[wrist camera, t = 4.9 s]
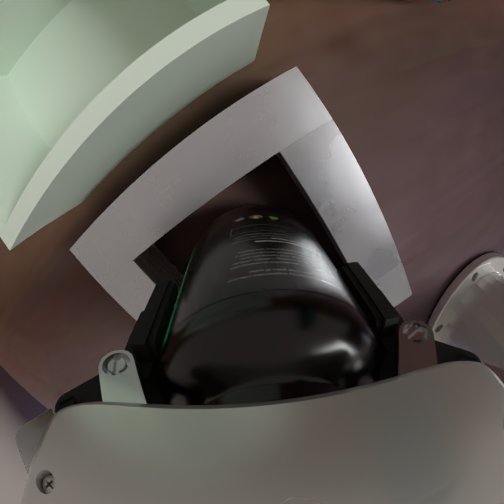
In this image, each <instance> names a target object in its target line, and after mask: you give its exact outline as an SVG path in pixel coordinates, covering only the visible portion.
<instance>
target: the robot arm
mask: <svg viewBox="0 0 504 504" xmlns="http://www.w3.org/2000/svg"><path fill="white" fill-rule="evenodd" d="M340 275H341V277H342V278H343V280H344V281H345V283H346V285H347V286H348V288H349V289H350V291H351V293H352V294H353V296H354V297H355V299H356V301H357V302H358V304H359V305H360V307H361V309H362V310H363V312H364V314H365V315H366V317H367V319H368V321H369V322H370V324H371V327H372V328H373V330H374V332H375V334H376V336H377V339H378V341H379V344H380V348H381V355H382V364H381V373H380V378H379V381H378V382H374V383H370V384H366V385H362V386H358V387H353V388H349V389H344V390H339V391H334V392H329V393H324V394H318V395H312V396H306V397H299V398H292V399H285V400H276V401H267V402H256V403H243V404H225V405H165V403H164V401H163V399H162V396H161V393H160V390H159V386H158V377H157V373H158V364H159V359H160V354H161V350H162V346H163V343H164V339H165V336H166V332H167V329H168V326H169V322H170V319H171V316H172V313H173V309H174V306H175V303H176V300H177V297H178V294H179V292H178V289H177V285H176V283H172V281H171V280H163V281H158V282H157V283H156V286H155V288H154V290H153V292H152V294H151V296H150V299H149V301H148V303H147V305H146V307H145V310H144V311H142V312H141V313H140V315H139V317H138V320H137V322H136V324H135V326H134V329H133V331H132V333H131V336H130V338H129V340H128V343H127V345H126V348H125V350H116V351H112V352H110V353H108V354H107V355H105V356H104V357H103V358H102V359H101V361H100V363H99V368H98V370H99V375H97V376H95V377H94V378H92V379H90V380H88V381H87V382H85V383H83V384H81V385H79V386H78V387H76V388H74V389H72V390H71V391H69V392H67V393H65V394H64V395H62V396H61V397H60V398H59V399H58V401H57V403H56V405H55V410H54V411H53V410H52V409H49V410H48V411H46V412H44V413H43V414H41V415H40V416H38V417H36V418H35V419H33V420H32V421H30V422H28V423H27V424H25V425H23V426H22V427H21V428H20V429H19V430H18V431H17V434H16V443H17V446H18V449H19V452H20V455H21V457H22V460H23V463H24V465H25V468H26V470H27V473H28V477H27V480H26V484H25V488H24V493H23V497H22V502H21V504H504V257H503V256H502V255H501V254H499V253H496V252H493V253H487V254H484V255H482V256H480V257H479V258H477V259H476V260H474V261H473V262H472V263H470V264H469V265H468V266H467V267H466V268H465V269H464V270H463V271H462V272H461V273H460V274H459V275H458V276H457V277H456V278H455V279H454V281H453V282H452V283H451V284H450V286H449V287H448V288H447V290H446V291H445V293H444V294H443V296H442V297H441V298H440V300H439V302H438V304H437V306H436V307H435V309H434V311H433V313H432V315H431V318H430V320H429V322H428V325H427V324H426V323H424V322H422V321H418V320H408V321H405V322H404V321H403V319H402V318H401V316H400V315H399V314H398V312H397V311H396V310H395V308H394V307H393V306H392V304H391V303H390V302H389V300H388V299H387V298H386V296H385V295H384V294H383V292H382V291H381V290H380V289H379V288H378V287H377V286H376V284H375V283H374V282H373V280H372V279H371V278H370V277H369V275H368V274H367V273H366V272H365V270H364V269H363V268H362V267H361V265H360V264H359V263H358V262H350V263H345V264H344V267H341V268H340Z"/></svg>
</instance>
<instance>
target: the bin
mask: <svg viewBox="0 0 504 504" xmlns="http://www.w3.org/2000/svg"><path fill="white" fill-rule="evenodd" d="M269 6H270V4H269V3H268V2H267V1H266V0H0V237H1V239H2V240H3V242H4V243H5V245H6V246H7V247H8V249H9V250H11V249H13V248H14V247H15V246H17V245H18V244H20V243H21V242H22V241H24V240H25V239H26V238H28V237H29V236H31V235H32V234H34V233H35V232H37V231H38V230H39V229H41V228H42V227H44V226H45V225H47V224H48V223H50V222H52V221H53V220H55V219H56V218H58V217H59V216H61V215H63V214H64V213H66V212H68V211H69V210H71V209H73V208H74V207H76V206H78V205H79V204H81V203H83V202H84V201H85V200H86V199H87V197H88V196H89V195H90V194H91V193H92V192H93V191H94V190H95V189H96V187H97V186H98V185H99V184H100V183H101V182H102V181H103V180H104V179H105V178H106V177H107V176H108V175H109V174H110V173H111V172H112V171H113V170H114V169H115V168H116V167H117V166H118V165H119V164H120V163H121V162H122V161H123V160H124V159H125V158H126V157H127V156H128V155H129V154H130V153H131V152H132V151H133V150H134V149H135V148H137V147H138V146H139V145H140V144H141V143H142V142H143V141H144V140H145V139H147V138H148V137H149V136H150V135H151V134H152V133H154V132H155V131H156V130H157V129H158V128H159V127H161V126H162V125H163V124H164V123H165V122H167V121H168V120H169V119H170V118H172V117H173V116H174V115H175V114H177V113H178V112H179V111H181V110H182V109H183V108H185V107H186V106H187V105H188V104H190V103H191V102H193V101H194V100H195V99H197V98H198V97H199V96H201V95H202V94H204V93H205V92H207V91H208V90H209V89H211V88H212V87H214V86H215V85H217V84H218V83H220V82H221V81H223V80H224V79H226V78H227V77H229V76H231V75H232V74H234V73H235V72H237V71H239V70H240V69H242V68H244V67H245V66H247V65H249V64H250V63H252V62H254V61H255V57H256V53H257V49H258V45H259V42H260V38H261V34H262V31H263V27H264V24H265V20H266V17H267V13H268V10H269Z"/></svg>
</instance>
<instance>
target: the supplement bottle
mask: <svg viewBox="0 0 504 504" xmlns="http://www.w3.org/2000/svg"><path fill="white" fill-rule="evenodd" d="M381 364H382V355H381V348H380V344H379V341H378V339H377V336H376V334H375V332H374V330H373V328H372V327H371V324H370V322H369V321H368V319H367V317H366V315H365V314H364V312H363V310H362V309H361V307H360V305H359V304H358V302H357V301H356V299H355V297H354V296H353V294H352V293H351V291H350V289H349V288H348V286H347V285H346V283H345V281H344V280H343V278H342V277H341V275H340V274H339V272H338V270H337V269H336V267H335V266H334V264H333V263H332V261H331V260H330V258H329V257H328V255H327V254H326V252H325V251H324V249H323V248H322V246H321V245H320V243H319V242H318V240H317V239H316V237H315V236H314V235H313V233H312V232H311V231H310V229H309V228H308V227H307V226H306V225H305V224H304V223H303V222H302V221H301V220H300V219H298V218H297V217H296V216H294V215H293V214H291V213H289V212H287V211H285V210H282V209H280V208H276V207H272V206H266V205H250V206H243V207H239V208H236V209H233V210H230V211H228V212H226V213H224V214H222V215H221V216H219V217H218V218H216V219H215V220H214V221H213V222H211V223H210V224H209V225H208V226H207V227H206V229H205V230H204V231H203V233H202V234H201V236H200V237H199V239H198V241H197V243H196V245H195V247H194V250H193V252H192V255H191V258H190V261H189V264H188V267H187V269H186V272H185V275H184V278H183V281H182V284H181V287H180V291H179V294H178V297H177V300H176V303H175V306H174V309H173V313H172V316H171V319H170V322H169V326H168V329H167V332H166V336H165V339H164V343H163V346H162V350H161V354H160V359H159V364H158V373H157V377H158V386H159V390H160V393H161V396H162V399H163V401H164V403H165V405H225V404H243V403H256V402H267V401H276V400H285V399H292V398H299V397H306V396H312V395H318V394H324V393H329V392H334V391H339V390H344V389H349V388H353V387H358V386H362V385H366V384H370V383H374V382H378V381H379V378H380V373H381Z"/></svg>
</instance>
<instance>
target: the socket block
mask: <svg viewBox="0 0 504 504" xmlns="http://www.w3.org/2000/svg"><path fill="white" fill-rule="evenodd" d="M275 154H276V156H277V157H278V159H279V160H280V161H281V163H282V164H283V166H284V167H285V169H286V170H287V172H288V173H289V175H290V176H291V178H292V179H293V181H294V182H295V184H296V186H297V187H298V189H299V190H300V192H301V193H302V195H303V196H304V198H305V200H306V201H307V203H308V204H309V206H310V208H311V209H312V211H313V212H314V214H315V216H316V217H317V219H318V221H319V222H320V224H321V226H322V227H323V229H324V231H325V232H326V234H327V236H328V237H329V239H330V241H331V242H332V244H333V246H334V248H335V249H336V251H337V253H338V255H339V256H340V258H341V260H342V262H343V263H344V264H345V263H350V262H358V263H359V264H360V265H361V267H362V268H363V269H364V270H365V272H366V273H367V274H368V275H369V277H370V278H371V279H372V280H373V282H374V283H375V284H376V286H377V287H378V288H379V289H380V290H381V291H382V292H383V294H384V295H385V296H386V298H387V299H388V300H389V302H390V303H391V304H392V306H393V307H395V306H397V305H398V304H399V303H401V302H402V301H404V300H405V299H407V298H408V297H409V296H411V295H412V292H411V288H410V285H409V282H408V279H407V276H406V273H405V270H404V268H403V265H402V262H401V259H400V257H399V254H398V251H397V249H396V246H395V243H394V241H393V238H392V236H391V233H390V231H389V229H388V226H387V224H386V221H385V219H384V217H383V214H382V212H381V210H380V208H379V206H378V203H377V201H376V199H375V197H374V195H373V193H372V191H371V188H370V186H369V184H368V182H367V180H366V178H365V176H364V174H363V172H362V170H361V169H360V167H359V165H358V163H357V161H356V159H355V157H354V155H353V154H352V152H351V150H350V148H349V146H348V145H347V143H346V141H345V139H344V138H343V136H342V134H341V133H340V131H339V129H338V128H337V126H336V124H335V123H334V121H333V119H332V118H331V116H330V115H329V113H328V111H327V110H326V108H325V107H324V105H323V104H322V102H321V101H320V99H319V98H318V96H317V95H316V93H315V92H314V90H313V89H312V87H311V86H310V84H309V83H308V82H307V80H306V79H305V77H304V76H303V75H302V73H301V72H300V71H299V69H298V68H297V67H294V68H292V69H291V70H289V71H287V72H285V73H283V74H282V75H280V76H278V77H276V78H274V79H273V80H271V81H269V82H268V83H266V84H264V85H263V86H261V87H259V88H258V89H256V90H254V91H253V92H251V93H249V94H248V95H246V96H245V97H243V98H242V99H240V100H239V101H237V102H236V103H234V104H232V105H231V106H229V107H228V108H227V109H225V110H224V111H222V112H221V113H219V114H218V115H216V116H215V117H214V118H212V119H211V120H209V121H208V122H207V123H205V124H204V125H203V126H201V127H200V128H198V129H197V130H196V131H194V132H193V133H192V134H191V135H189V136H188V137H187V138H185V139H184V140H183V141H182V142H180V143H179V144H178V145H176V146H175V147H174V148H173V149H172V150H170V151H169V152H168V153H167V154H165V155H164V156H163V157H162V158H161V159H160V160H158V161H157V162H156V163H155V164H154V165H153V166H151V167H150V168H149V169H148V170H147V171H146V172H145V173H143V174H142V175H141V176H140V177H139V178H138V179H137V180H136V181H135V182H134V183H133V184H131V185H130V186H129V187H128V188H127V189H126V190H125V191H124V192H123V193H122V194H121V195H120V196H119V197H118V198H117V199H116V200H115V201H114V202H113V203H112V204H111V205H110V206H109V207H108V208H107V209H106V210H105V211H104V212H103V213H102V214H101V215H100V216H99V217H98V218H97V219H96V220H95V221H94V223H93V224H92V225H91V226H90V227H89V228H88V229H87V230H86V231H85V232H84V233H83V235H82V236H81V237H80V238H79V239H78V240H77V241H76V243H75V244H74V245H73V246H72V247H71V248H70V251H71V252H72V253H73V254H74V256H75V257H76V258H77V259H78V260H79V261H80V263H81V264H82V265H83V266H84V267H85V268H86V269H87V271H88V272H89V273H90V274H91V275H92V276H93V277H94V278H95V279H96V281H97V282H98V283H99V284H100V285H101V286H102V287H103V288H104V289H105V290H106V291H107V292H108V293H109V294H110V295H111V296H112V297H113V298H114V299H115V300H116V301H117V302H118V303H119V304H120V305H121V306H122V307H123V308H124V309H125V310H126V311H127V312H128V313H129V314H130V315H131V316H132V317H133V318H134V319H135V320H136V321H137V320H138V317H139V315H140V313H141V312H142V311H144V310H145V307H146V305H147V303H148V301H149V299H150V296H151V294H152V292H153V290H154V288H155V286H156V283H157V282H158V281H163V280H171V281H172V283H176V285H177V289H178V292H179V291H180V287H181V284H182V281H183V278H184V275H183V274H182V273H181V272H180V271H179V270H178V269H177V268H176V267H175V265H174V264H173V263H172V262H171V261H170V260H169V259H168V258H167V257H166V255H165V254H164V253H163V252H162V251H161V250H160V249H159V247H158V246H157V245H156V244H155V243H154V242H156V241H157V240H158V239H159V238H161V237H162V236H163V235H164V234H166V233H167V232H168V231H169V230H171V229H172V228H173V227H175V226H176V225H177V224H178V223H180V222H181V221H182V220H184V219H185V218H186V217H188V216H189V215H190V214H191V213H193V212H194V211H195V210H197V209H198V208H199V207H201V206H202V205H203V204H205V203H206V202H208V201H209V200H210V199H212V198H213V197H214V196H216V195H217V194H218V193H220V192H221V191H223V190H224V189H225V188H227V187H228V186H230V185H231V184H232V183H234V182H235V181H237V180H238V179H240V178H241V177H242V176H244V175H245V174H247V173H248V172H250V171H251V170H253V169H254V168H256V167H257V166H259V165H260V164H261V163H263V162H264V161H266V160H267V159H269V158H270V157H272V156H274V155H275ZM341 267H344V265H342V266H341ZM341 267H339V268H338V269H337V270H338V272H339V274H340V268H341Z"/></svg>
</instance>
